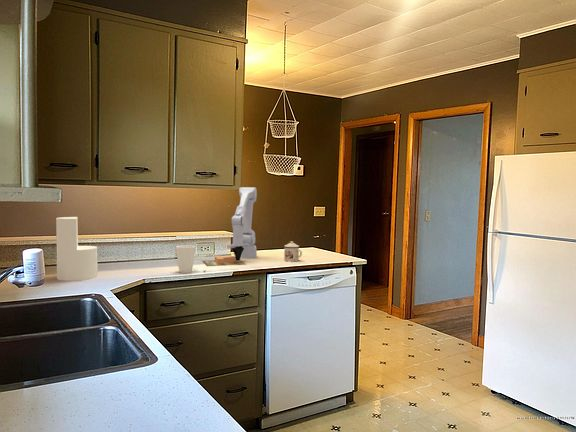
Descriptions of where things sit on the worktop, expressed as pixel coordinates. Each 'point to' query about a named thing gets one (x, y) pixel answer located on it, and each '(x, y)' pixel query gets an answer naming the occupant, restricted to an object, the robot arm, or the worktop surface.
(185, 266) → the foam cup
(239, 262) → the board
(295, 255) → the teacup with lid
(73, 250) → the cream l-shaped block
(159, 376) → the worktop surface
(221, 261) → the t block
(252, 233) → the robot arm
